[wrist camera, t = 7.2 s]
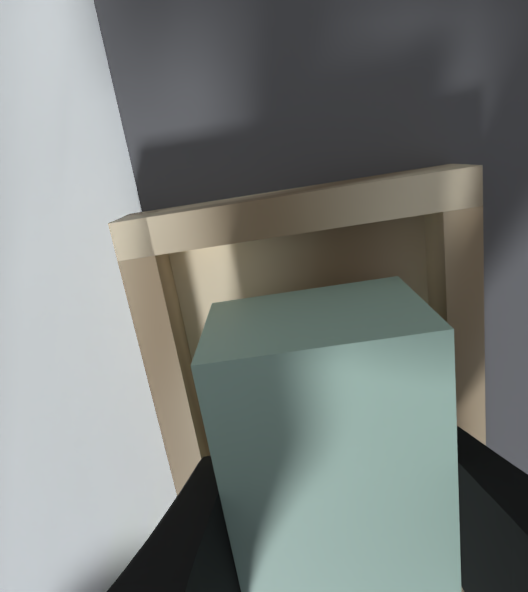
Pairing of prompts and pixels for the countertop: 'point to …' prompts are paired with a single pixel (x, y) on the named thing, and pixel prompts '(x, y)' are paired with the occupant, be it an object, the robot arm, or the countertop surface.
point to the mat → (340, 122)
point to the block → (334, 438)
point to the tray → (302, 273)
